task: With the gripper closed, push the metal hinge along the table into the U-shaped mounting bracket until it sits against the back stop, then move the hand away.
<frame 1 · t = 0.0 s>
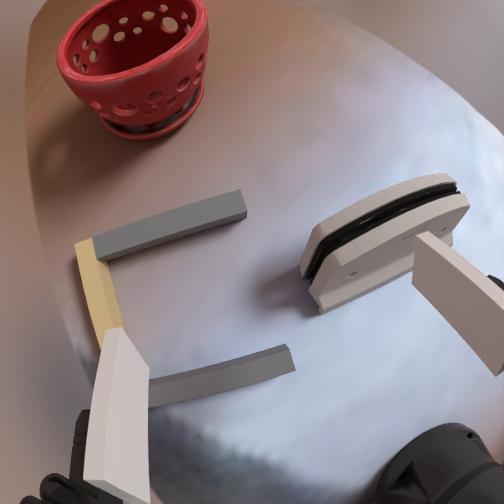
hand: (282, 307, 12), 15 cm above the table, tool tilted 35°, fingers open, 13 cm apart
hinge: (376, 245, 29), on the table
plant pot: (156, 98, 30), on the table
bracket: (186, 304, 27), on the table
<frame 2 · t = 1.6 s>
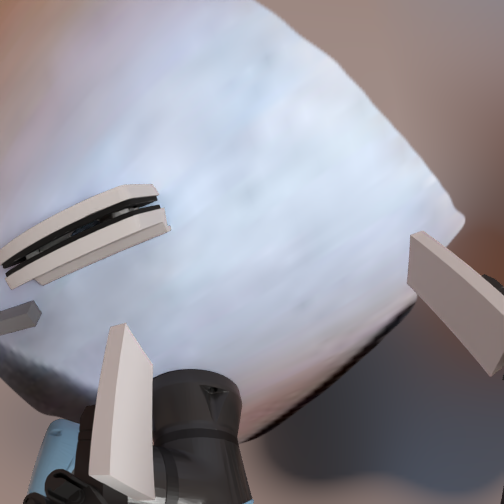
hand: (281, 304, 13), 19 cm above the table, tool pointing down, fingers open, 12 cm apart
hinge: (87, 225, 28), on the table
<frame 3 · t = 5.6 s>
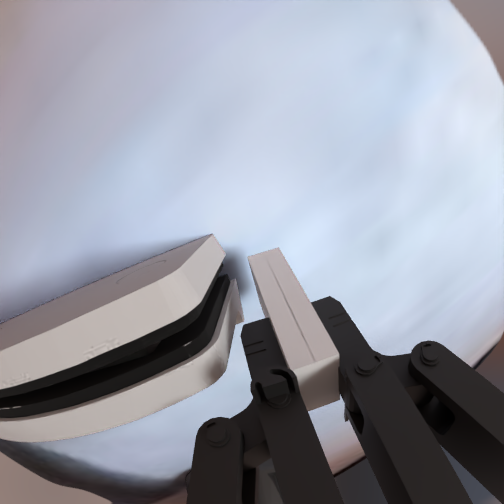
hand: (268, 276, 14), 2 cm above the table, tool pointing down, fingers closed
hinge: (88, 301, 16), on the table, touching gripper
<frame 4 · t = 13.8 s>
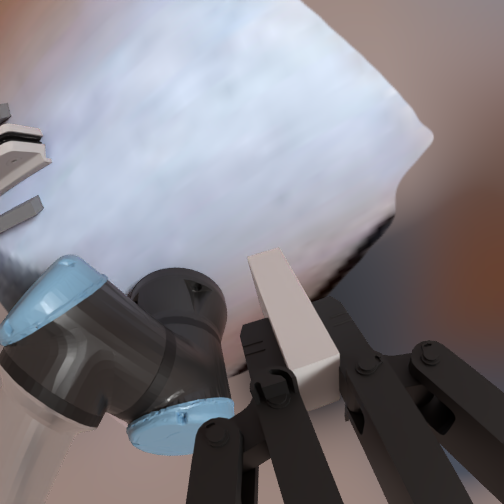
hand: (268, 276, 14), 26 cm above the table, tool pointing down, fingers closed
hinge: (2, 163, 30), on the table
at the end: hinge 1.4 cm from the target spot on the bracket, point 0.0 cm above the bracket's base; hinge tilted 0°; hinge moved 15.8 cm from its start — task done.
